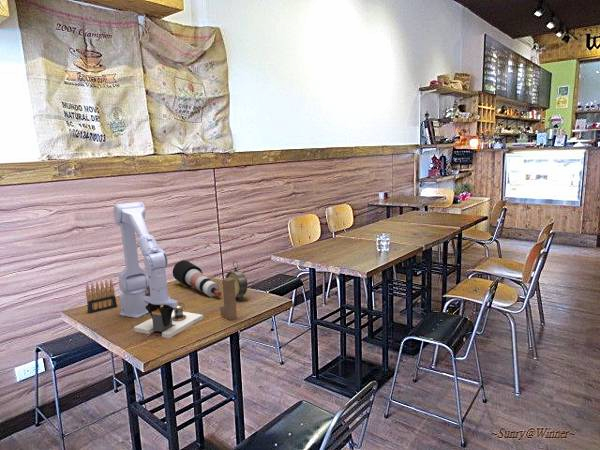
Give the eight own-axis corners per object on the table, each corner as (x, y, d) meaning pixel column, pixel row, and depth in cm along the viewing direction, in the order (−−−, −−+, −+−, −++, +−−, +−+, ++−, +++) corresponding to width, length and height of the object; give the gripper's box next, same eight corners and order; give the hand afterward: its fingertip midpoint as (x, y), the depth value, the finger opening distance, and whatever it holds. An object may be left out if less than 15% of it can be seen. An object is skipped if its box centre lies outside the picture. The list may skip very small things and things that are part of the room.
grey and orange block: (153, 330, 149) (151, 311, 148) (163, 324, 154) (162, 307, 153) (162, 331, 148) (160, 313, 146) (172, 326, 152) (170, 308, 151)
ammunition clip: (115, 305, 178) (112, 277, 176) (117, 307, 177) (113, 278, 175) (87, 312, 172) (83, 283, 170) (88, 314, 170) (85, 284, 168)
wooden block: (237, 317, 160) (234, 278, 158) (229, 320, 158) (226, 280, 156) (228, 313, 165) (225, 275, 163) (220, 315, 163) (217, 277, 160)
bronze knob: (169, 320, 157) (167, 307, 156) (178, 315, 161) (177, 302, 160) (179, 322, 155) (178, 308, 154) (189, 316, 159) (187, 304, 158)
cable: (215, 310, 181) (204, 293, 176) (178, 285, 206) (168, 269, 200) (233, 295, 185) (223, 277, 180) (195, 271, 210) (186, 256, 205)
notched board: (134, 331, 152) (133, 327, 152) (170, 312, 168) (169, 309, 168) (168, 338, 145) (168, 334, 145) (203, 318, 161) (202, 314, 161)
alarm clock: (225, 297, 183) (222, 260, 180) (236, 294, 187) (233, 257, 184) (240, 303, 175) (237, 264, 172) (250, 299, 179) (248, 261, 176)
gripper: (182, 285, 148) (186, 323, 151) (151, 281, 154) (154, 317, 157) (168, 292, 142) (172, 331, 144) (135, 287, 148) (140, 324, 151)
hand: (162, 324), depth 150 cm, fingers closed on grey and orange block, 4 cm apart
